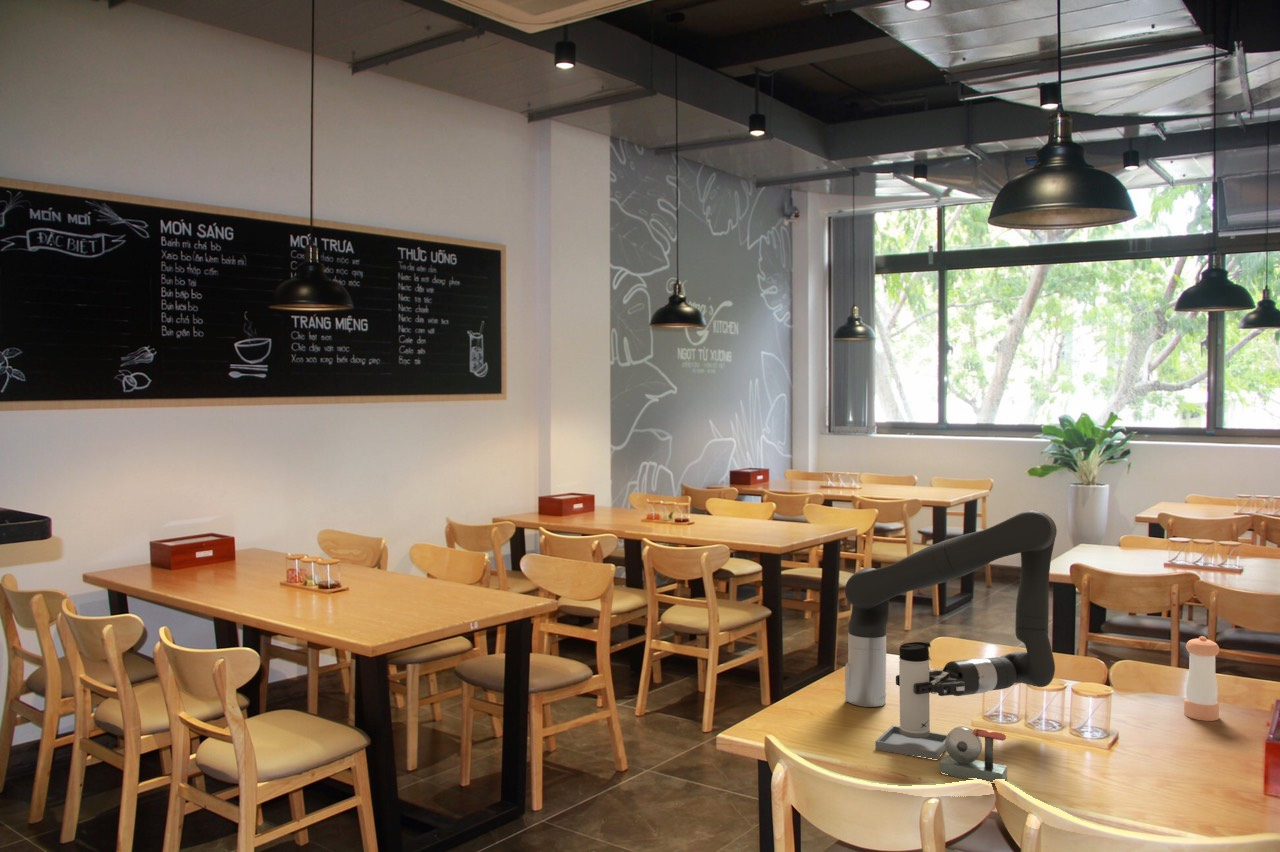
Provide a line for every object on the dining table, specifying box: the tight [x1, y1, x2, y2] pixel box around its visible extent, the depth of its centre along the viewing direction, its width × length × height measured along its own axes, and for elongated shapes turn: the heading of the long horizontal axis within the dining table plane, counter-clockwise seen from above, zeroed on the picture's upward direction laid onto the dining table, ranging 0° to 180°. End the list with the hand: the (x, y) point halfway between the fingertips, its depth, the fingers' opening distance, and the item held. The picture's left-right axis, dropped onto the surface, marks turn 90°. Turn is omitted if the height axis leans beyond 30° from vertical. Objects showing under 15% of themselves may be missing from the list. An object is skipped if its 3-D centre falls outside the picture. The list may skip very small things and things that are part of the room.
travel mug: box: [898, 641, 932, 738], centre depth 217 cm, size 6×7×20 cm
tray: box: [874, 724, 948, 760], centre depth 217 cm, size 13×12×2 cm
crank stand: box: [939, 726, 1008, 782], centre depth 201 cm, size 12×5×10 cm, turn 59°
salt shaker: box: [1183, 635, 1220, 722], centre depth 238 cm, size 7×7×19 cm
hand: (905, 684), depth 216 cm, fingers closed on travel mug, 6 cm apart
